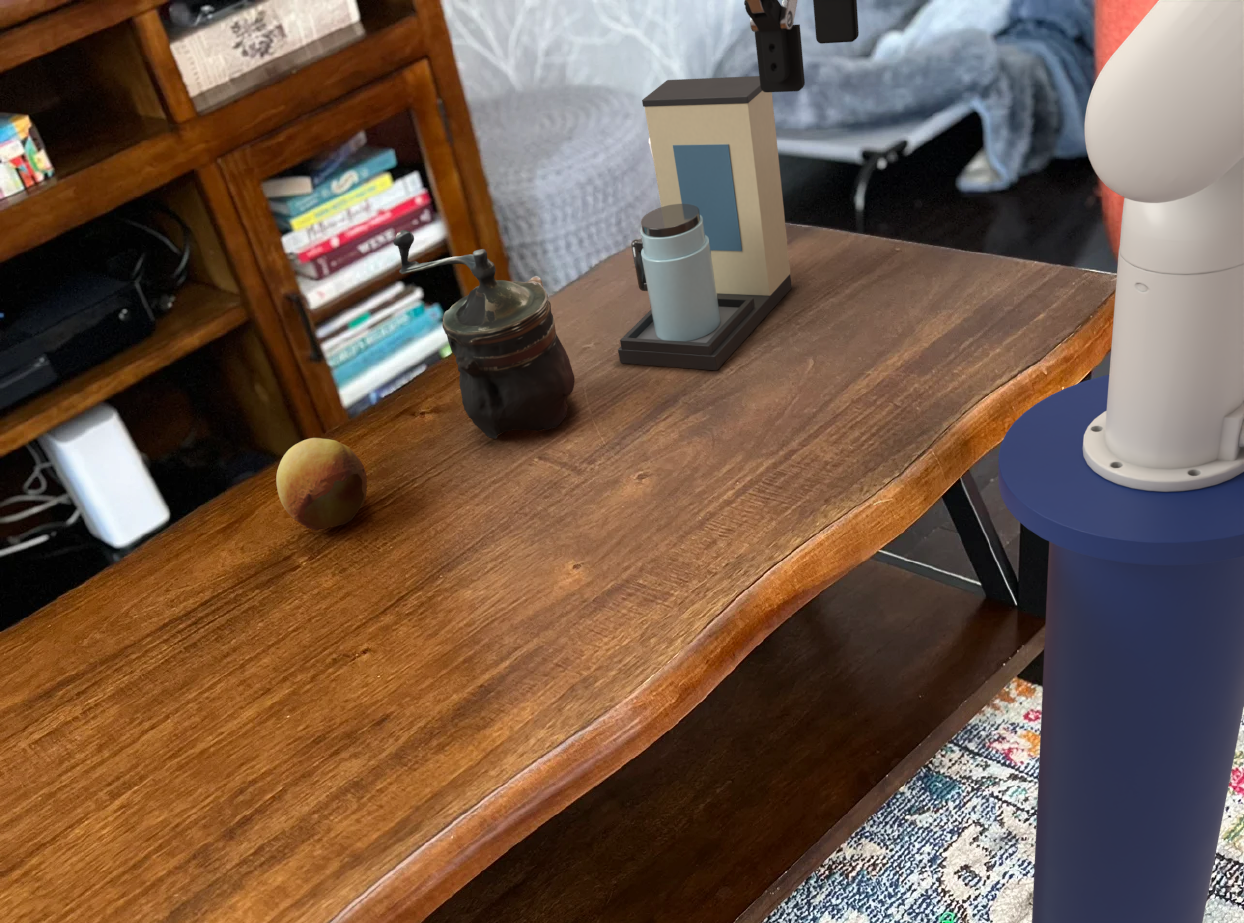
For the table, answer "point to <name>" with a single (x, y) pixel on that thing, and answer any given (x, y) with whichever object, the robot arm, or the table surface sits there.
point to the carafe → (677, 272)
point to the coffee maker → (719, 208)
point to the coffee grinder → (503, 348)
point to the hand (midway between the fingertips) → (811, 65)
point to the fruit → (321, 483)
